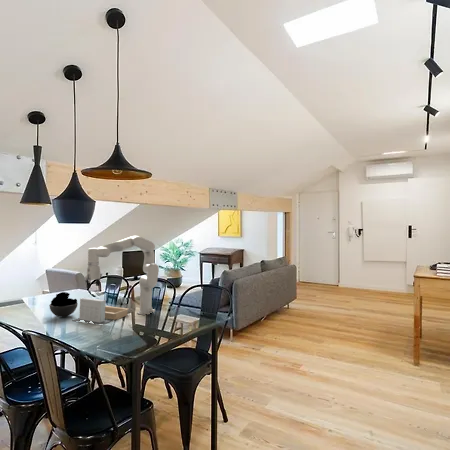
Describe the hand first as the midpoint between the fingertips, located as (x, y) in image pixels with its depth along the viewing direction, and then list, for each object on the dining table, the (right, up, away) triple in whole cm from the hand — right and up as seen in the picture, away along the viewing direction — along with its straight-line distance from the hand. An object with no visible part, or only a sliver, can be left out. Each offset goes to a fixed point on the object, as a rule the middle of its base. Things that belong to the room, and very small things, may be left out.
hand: (93, 286), depth 254 cm
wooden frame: (+5, -26, +16) cm, 31 cm away
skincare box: (-1, -25, 0) cm, 25 cm away
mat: (-1, -26, -1) cm, 26 cm away
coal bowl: (-28, -26, +11) cm, 39 cm away
